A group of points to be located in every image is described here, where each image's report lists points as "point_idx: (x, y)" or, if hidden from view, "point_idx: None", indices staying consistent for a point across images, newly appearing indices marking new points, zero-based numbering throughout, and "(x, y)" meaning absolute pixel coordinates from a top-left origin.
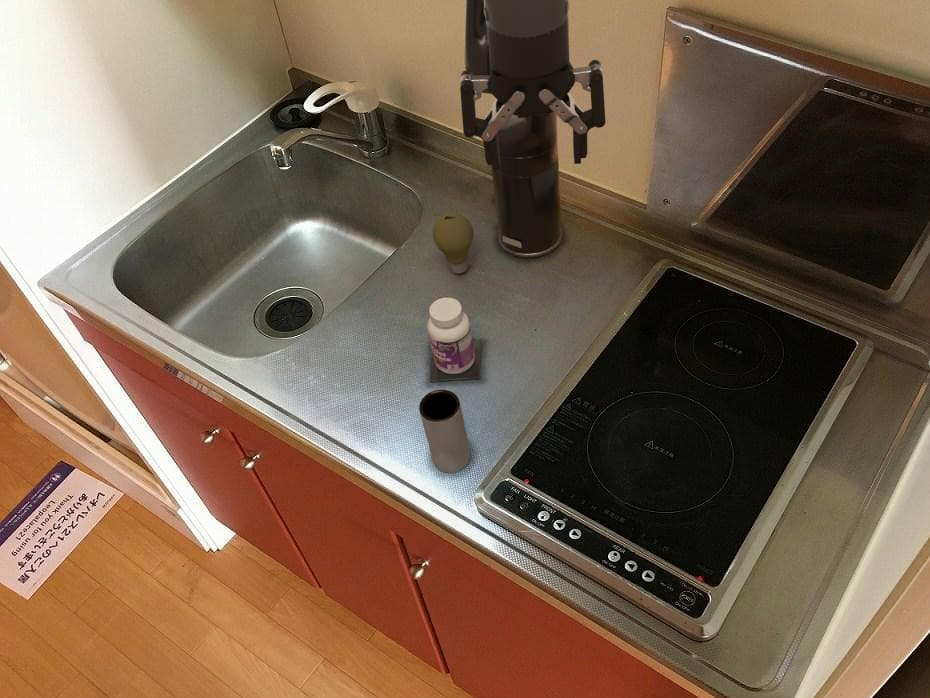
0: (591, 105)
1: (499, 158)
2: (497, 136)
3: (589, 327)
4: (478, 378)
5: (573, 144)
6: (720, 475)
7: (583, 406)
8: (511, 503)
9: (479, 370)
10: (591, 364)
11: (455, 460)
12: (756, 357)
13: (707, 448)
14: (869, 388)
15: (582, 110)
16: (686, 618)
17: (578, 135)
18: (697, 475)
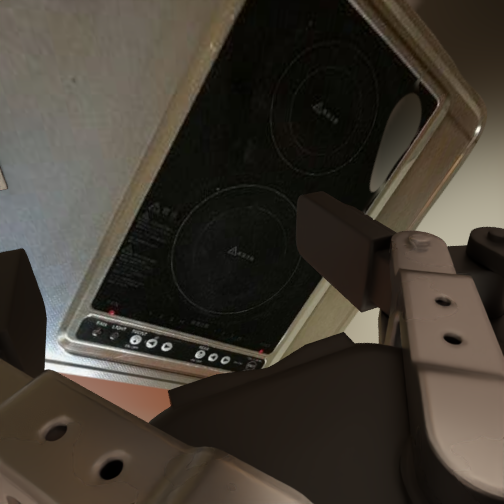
0: (497, 259)
1: (28, 273)
2: (11, 305)
3: (161, 75)
4: (5, 189)
5: (322, 229)
6: (289, 270)
7: (163, 214)
8: (100, 336)
9: (1, 175)
10: (168, 148)
11: None
12: (349, 128)
13: (283, 246)
14: (424, 163)
15: (447, 255)
16: None
17: (374, 307)
18: (271, 274)
